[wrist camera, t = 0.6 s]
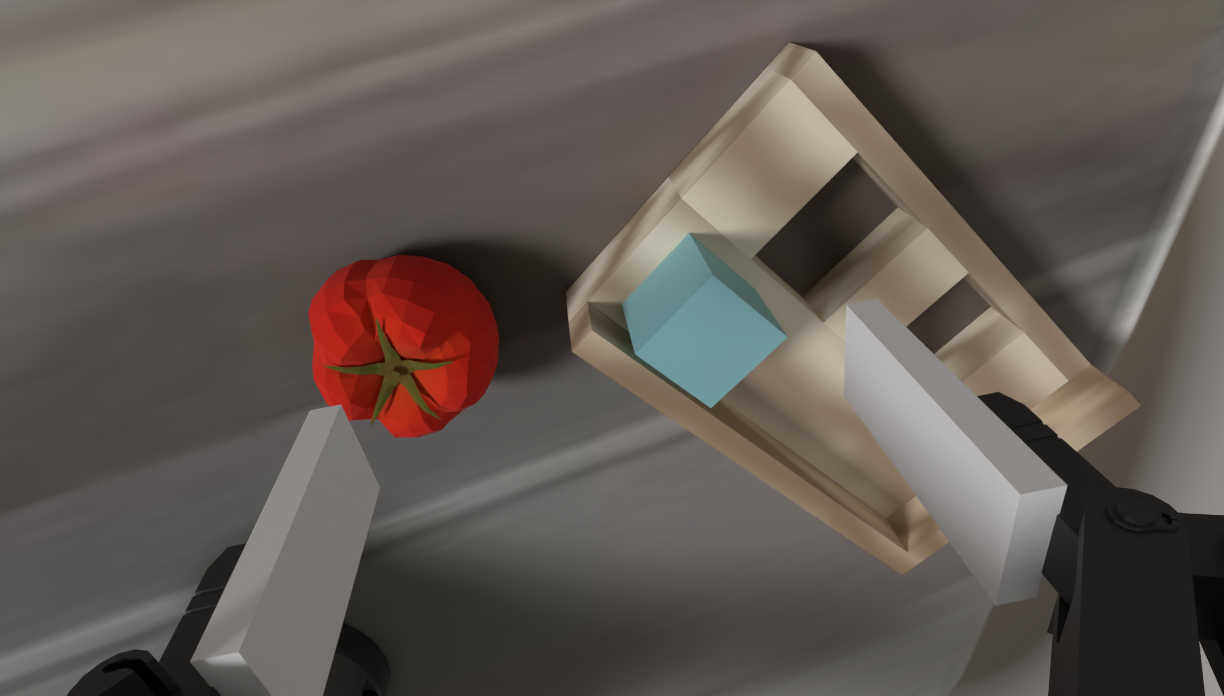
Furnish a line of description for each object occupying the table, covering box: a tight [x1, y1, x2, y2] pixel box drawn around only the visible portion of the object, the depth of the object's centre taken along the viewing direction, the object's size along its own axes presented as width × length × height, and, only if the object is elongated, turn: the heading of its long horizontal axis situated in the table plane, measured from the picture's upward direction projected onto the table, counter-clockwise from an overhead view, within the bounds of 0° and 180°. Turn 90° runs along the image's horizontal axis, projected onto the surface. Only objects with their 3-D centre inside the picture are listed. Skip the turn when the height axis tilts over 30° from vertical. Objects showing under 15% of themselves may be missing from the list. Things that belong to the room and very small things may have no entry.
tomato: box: [308, 255, 499, 438], centre depth 34 cm, size 9×9×8 cm
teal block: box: [622, 233, 788, 408], centre depth 32 cm, size 5×5×5 cm
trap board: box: [566, 42, 1140, 575], centre depth 37 cm, size 17×28×6 cm, turn 49°
